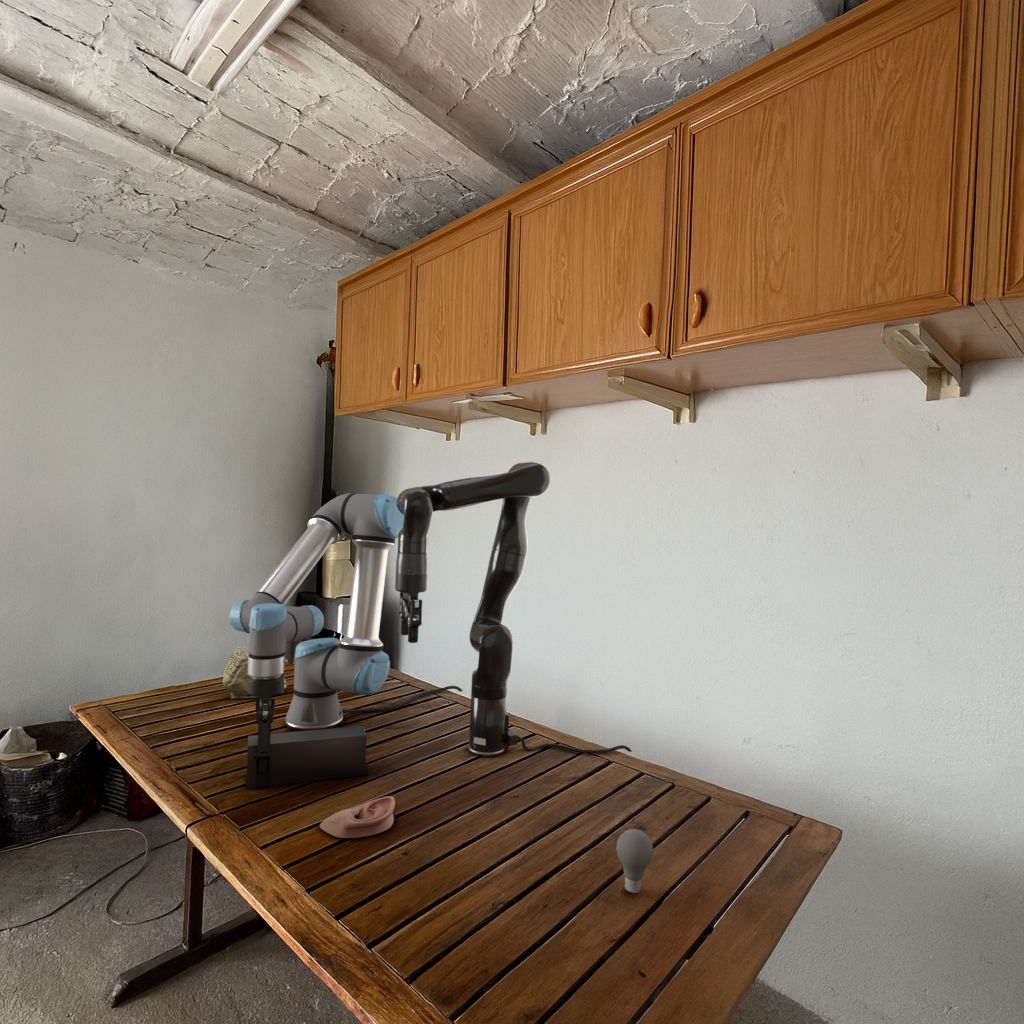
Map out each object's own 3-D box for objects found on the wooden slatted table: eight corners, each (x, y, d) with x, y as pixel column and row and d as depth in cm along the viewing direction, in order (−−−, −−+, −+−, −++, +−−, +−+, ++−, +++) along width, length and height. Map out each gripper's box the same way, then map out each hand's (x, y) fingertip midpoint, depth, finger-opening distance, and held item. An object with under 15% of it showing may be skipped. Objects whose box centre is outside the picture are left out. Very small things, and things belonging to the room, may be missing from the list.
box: (246, 789, 136) (247, 745, 136) (246, 777, 141) (248, 735, 141) (365, 775, 145) (366, 734, 145) (361, 764, 151) (363, 725, 150)
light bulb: (610, 879, 108) (613, 822, 108) (644, 879, 109) (647, 822, 109) (619, 902, 102) (622, 840, 102) (655, 901, 103) (658, 840, 103)
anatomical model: (312, 812, 119) (340, 786, 130) (311, 833, 119) (340, 805, 130) (378, 823, 116) (401, 795, 127) (377, 844, 116) (401, 814, 127)
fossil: (218, 695, 195) (220, 647, 195) (278, 685, 208) (279, 640, 207) (228, 703, 189) (230, 653, 188) (289, 692, 201) (290, 645, 201)
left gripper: (285, 686, 132) (281, 796, 132) (283, 662, 150) (279, 758, 150) (246, 689, 129) (242, 801, 129) (248, 664, 147) (245, 762, 148)
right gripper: (434, 575, 147) (431, 644, 147) (420, 567, 160) (417, 631, 160) (402, 575, 144) (399, 646, 144) (390, 567, 157) (387, 633, 157)
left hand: (262, 778), depth 140 cm, fingers open, 7 cm apart
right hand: (408, 638), depth 152 cm, fingers open, 8 cm apart
